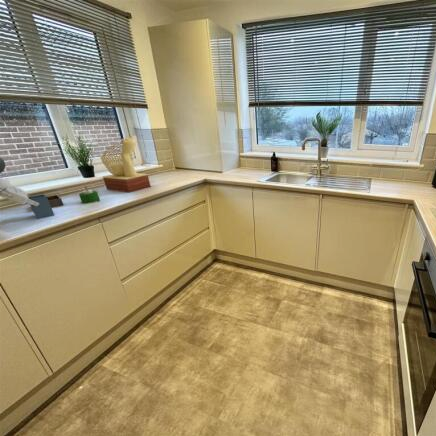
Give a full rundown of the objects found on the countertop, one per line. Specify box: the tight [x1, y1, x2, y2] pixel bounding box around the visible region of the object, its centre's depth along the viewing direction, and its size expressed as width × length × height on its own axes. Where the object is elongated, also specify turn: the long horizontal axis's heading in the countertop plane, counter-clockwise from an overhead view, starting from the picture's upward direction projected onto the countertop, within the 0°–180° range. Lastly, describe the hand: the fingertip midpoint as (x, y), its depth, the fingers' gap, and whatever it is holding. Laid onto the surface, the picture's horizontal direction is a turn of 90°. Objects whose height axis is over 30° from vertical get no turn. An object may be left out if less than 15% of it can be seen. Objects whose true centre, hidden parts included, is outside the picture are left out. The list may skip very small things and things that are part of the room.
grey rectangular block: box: [28, 193, 55, 220], centre depth 118 cm, size 6×6×10 cm
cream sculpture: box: [100, 135, 152, 193], centre depth 161 cm, size 25×18×35 cm
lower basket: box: [29, 194, 64, 209], centre depth 132 cm, size 12×12×5 cm
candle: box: [78, 184, 101, 204], centre depth 138 cm, size 8×8×10 cm
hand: (37, 202), depth 117 cm, fingers open, 8 cm apart
